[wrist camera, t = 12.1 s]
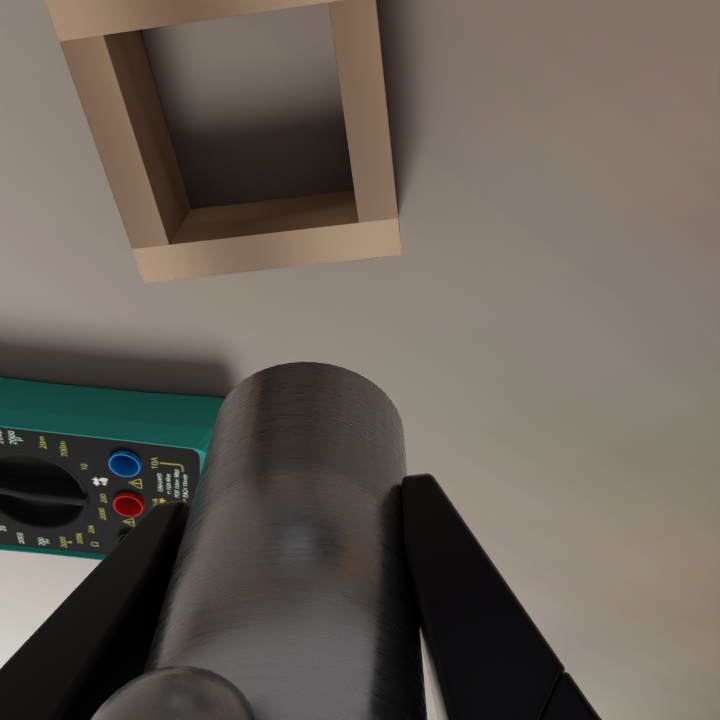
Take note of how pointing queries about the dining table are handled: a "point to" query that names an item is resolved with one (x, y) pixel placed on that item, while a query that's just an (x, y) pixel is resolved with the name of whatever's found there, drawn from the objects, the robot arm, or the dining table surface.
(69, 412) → the digital multimeter
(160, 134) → the key socket
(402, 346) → the dining table surface
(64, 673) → the robot arm
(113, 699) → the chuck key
